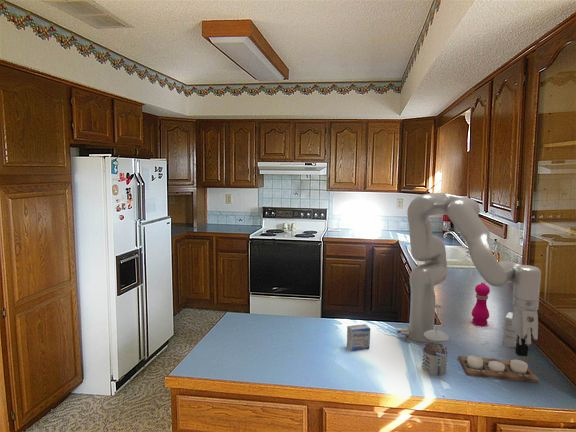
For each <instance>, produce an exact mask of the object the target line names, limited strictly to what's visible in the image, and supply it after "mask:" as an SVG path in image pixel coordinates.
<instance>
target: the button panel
mask: <svg viewBox="0 0 576 432" xmlns="http://www.w3.org/2000/svg"><path fill="white" fill-rule="evenodd" d="M467 357H468V356H465V355H458V360H459V363H460V365H461V366H462V368H463V371H464V373H465V375H466V376H468V377H470V376H471V377H478V378H488V379H499V380H510V381H515V382H516V381H519V382H527V383H528V382H529V383H538V384H539V378H538V377H537V376H536V374H535V373H534V372H533V370H531V368H530V366H527V374H522V373H513V372H512V371H511V370H510V363H511V360H507V359H506V360H505V359H499V358H497V359H496V358H488V357H487V358H486V357H481V358H482V359H483V369H472V368H468V367H467ZM489 361H498V362H501V363H503V364H504V365H505V370H504V372H502V371H492V370H490V369H489V367H488V364H489Z"/></svg>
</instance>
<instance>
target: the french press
mask: <svg viewBox="0 0 576 432" xmlns="http://www.w3.org/2000/svg"><path fill="white" fill-rule="evenodd" d="M436 308H437V314H436V323H438V319H439V309H441V308H442V305H441V304H440V303H435V309H436ZM424 336H425V337H426V338H427V339H429V340H431V341H430V342H425V343H424V345H423V346H424V347H423V348H422V362H421V363H422V364H421V365H422V366H421V369H422V371H424V372H425V373H427V374H430V375H432V376H438V369H439V376H443V375H445V374H446V372H447V361H448V352H447V350H448V349H447V346H445V345H444V344H441V342H442V343H443V342H446V341H448V340H449V338H450V337H449V335H448V334H446V332H443V331H441V330H438V324H436V329H434V330H429V331H426V332H424ZM438 367H439V368H438Z"/></svg>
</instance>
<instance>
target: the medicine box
mask: <svg viewBox="0 0 576 432" xmlns="http://www.w3.org/2000/svg"><path fill="white" fill-rule="evenodd" d="M346 330H347V331H346V347H347V348H348V349H349V350H350V351H351V352H358V351H365V350H370V346H371V328H370V327H369V326H368V325H367V324H364V323H363V324H355V325H354V324H353V325H347V327H346ZM364 349H365V350H364ZM357 350H358V351H357Z"/></svg>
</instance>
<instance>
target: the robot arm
mask: <svg viewBox="0 0 576 432" xmlns="http://www.w3.org/2000/svg"><path fill="white" fill-rule="evenodd" d="M480 212H481V208H480V205H479V203H478V202H477V201H476V200H475V199H472V198H470V197H465V196H460V195H454V194H450V193H444V192H435V193H433V192H431V193H423V194H421V195H419V196H416V197H415V198H413V199H412V200H411V202H410V203H409V205H408V207H407V215H406V216H407V223H408V227H409V229H408V230H409V231H408V232H409V241H410V242H409V245H410V253H411V256H412V257H413V259H414V260H415V261H417V262H424V263H421V264H418V265H416V266H415V267H414V268H413V269H412V270H411V271H410V274H409V285H410V304H409V305H410V306H409V307H410V308H409V321H408V322H409V325H407V327H405V328H401V327H397V328H396V333H398V334H400V336H404V340H405V341H406V342H407V343H409V344H410V343H411V342H410V340H412V341H415V342H420V343H429V342H432V341H431V340H429V339H427V338H426V337H425V336H424V332H426V331H429V330H435V314H436V307H435V305H436V302H437V301H436V293H435V287H436V286H438V285H441V284H442V283H444V281H446V279H447V277H448V264H447V263H448V261H447V249H446V246H445V243H444V241H443V239H441V238H440V237H439V236H437V235H435V234H434V235H433V232H432V231H433V230H432V229H433V227H432V224H431V221H430V219H429V217H430V216H435V215H445V216H448V218H449V220H450V221H451V222H452V224H453V226H454V227H455V228H456V230H457V231H458V233H459V234H460V236H461V237H462V239H463V240H464V241H465V242H466V245H467V248H468V252H469V256H470V258H471V262H472V264H473V265H474V267H475V269H476V270H477V272H478V274H480V276H481V277H482V278H483V281H485V283H488V285H490V286H491V287H498V288H499V287H502V286H503V287H504V286H505V285H507V284H510V283H513V290H512V304H511V305H512V307H513V309H512V313H513V316H512V329H513V330H514V331H515V332H516V348H515V354H516V355H517V356H519V357H528V355H529V354H528V353H529V346H530V345H532V339H533V340H534V341H537V340H538V337H539V336H538V335H539V333H538V332H539V316H538V315H539V314H538V310H539V305H540V304H539V303H540V292H541V281H542V279H541V278H542V270H541V269H540V268H539V267H537V266H534V265H528V264H520V263H516V262H514V261H510V260H500V261H498V260H497V259H496V257H495V256H494V254H493V252H492V250H491V248H490V237H491V236H490V235H491V234H490V230H489V229H488V228H487V226H486V225H485V224H484V222H483V221H482V219H481V218H480V217H479V215H480ZM517 342H518V343H517Z"/></svg>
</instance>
